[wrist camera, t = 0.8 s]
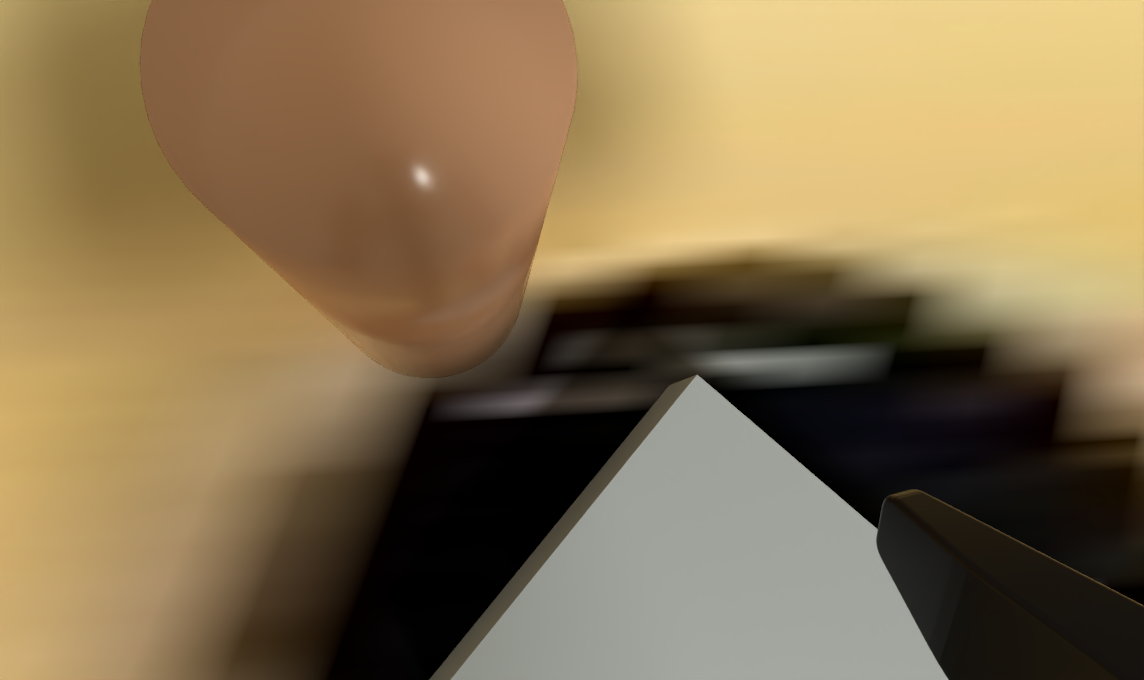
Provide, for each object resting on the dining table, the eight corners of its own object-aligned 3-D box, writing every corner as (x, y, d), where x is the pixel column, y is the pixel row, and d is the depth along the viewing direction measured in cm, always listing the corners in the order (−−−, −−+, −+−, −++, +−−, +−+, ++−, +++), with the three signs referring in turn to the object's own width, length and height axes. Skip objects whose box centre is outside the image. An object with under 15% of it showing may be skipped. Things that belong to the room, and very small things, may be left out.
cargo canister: (437, 416, 22) (380, 357, 9) (295, 293, 22) (41, 64, 9) (559, 279, 23) (659, 55, 10) (423, 162, 23) (354, -204, 10)
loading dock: (726, 942, 21) (767, 1023, 18) (426, 682, 21) (418, 719, 18) (941, 618, 23) (1009, 642, 20) (669, 385, 23) (696, 374, 20)
